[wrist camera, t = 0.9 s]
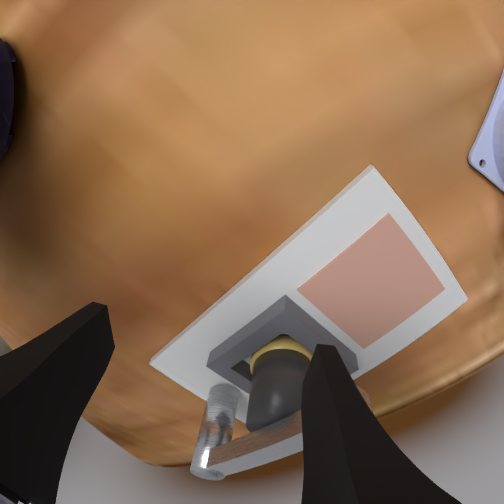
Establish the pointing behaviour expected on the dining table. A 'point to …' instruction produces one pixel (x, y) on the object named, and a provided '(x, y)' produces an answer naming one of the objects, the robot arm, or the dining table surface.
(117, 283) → the dining table surface
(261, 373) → the plug
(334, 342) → the dock board
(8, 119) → the red-striped navy canister
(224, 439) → the retention clip
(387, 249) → the pad
